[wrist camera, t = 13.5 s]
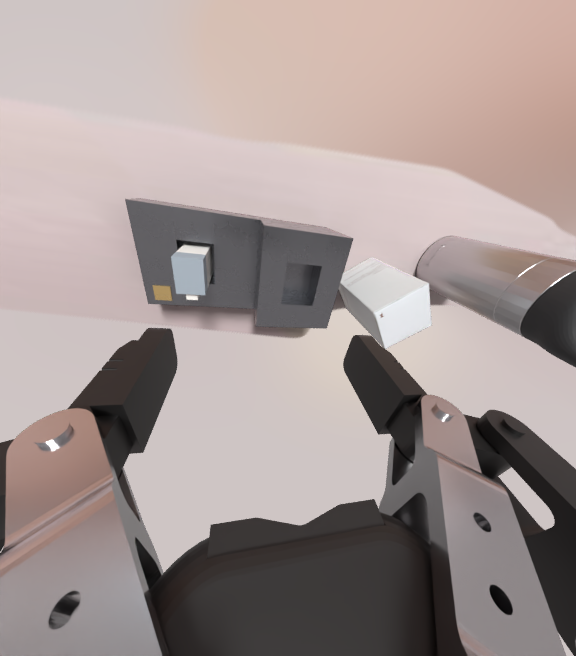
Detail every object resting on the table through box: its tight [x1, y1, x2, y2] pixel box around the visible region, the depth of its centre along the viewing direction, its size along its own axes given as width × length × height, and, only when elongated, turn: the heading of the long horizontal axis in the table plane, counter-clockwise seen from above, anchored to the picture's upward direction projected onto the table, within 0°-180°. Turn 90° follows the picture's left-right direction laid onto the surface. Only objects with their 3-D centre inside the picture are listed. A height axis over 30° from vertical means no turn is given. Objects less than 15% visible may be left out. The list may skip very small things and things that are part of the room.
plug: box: [171, 241, 213, 300], centre depth 25 cm, size 3×5×8 cm, turn 171°
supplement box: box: [339, 257, 432, 349], centre depth 32 cm, size 7×7×13 cm
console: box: [125, 198, 353, 328], centre depth 27 cm, size 24×12×9 cm, turn 81°
